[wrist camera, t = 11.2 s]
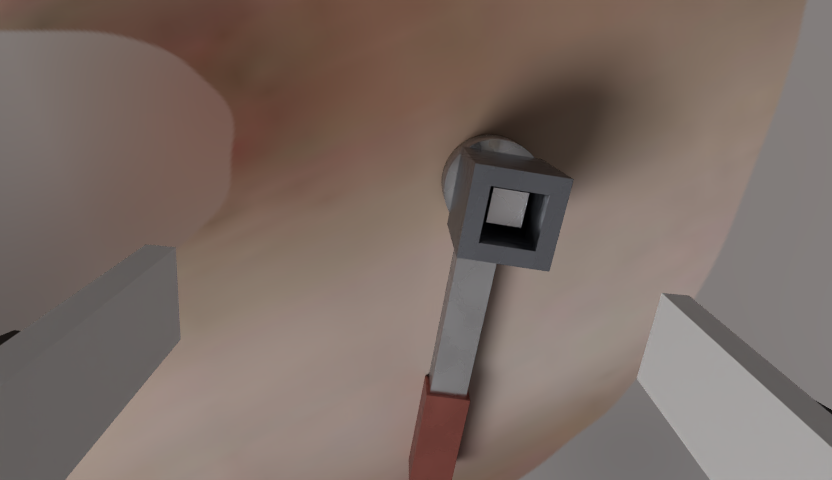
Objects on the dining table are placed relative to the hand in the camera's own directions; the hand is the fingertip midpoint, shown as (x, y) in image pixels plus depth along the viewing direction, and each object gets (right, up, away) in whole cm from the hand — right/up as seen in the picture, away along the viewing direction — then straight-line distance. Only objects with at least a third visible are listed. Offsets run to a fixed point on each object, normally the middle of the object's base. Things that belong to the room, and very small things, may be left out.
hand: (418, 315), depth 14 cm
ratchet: (+3, -4, +28) cm, 29 cm away
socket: (+5, +5, +22) cm, 23 cm away
